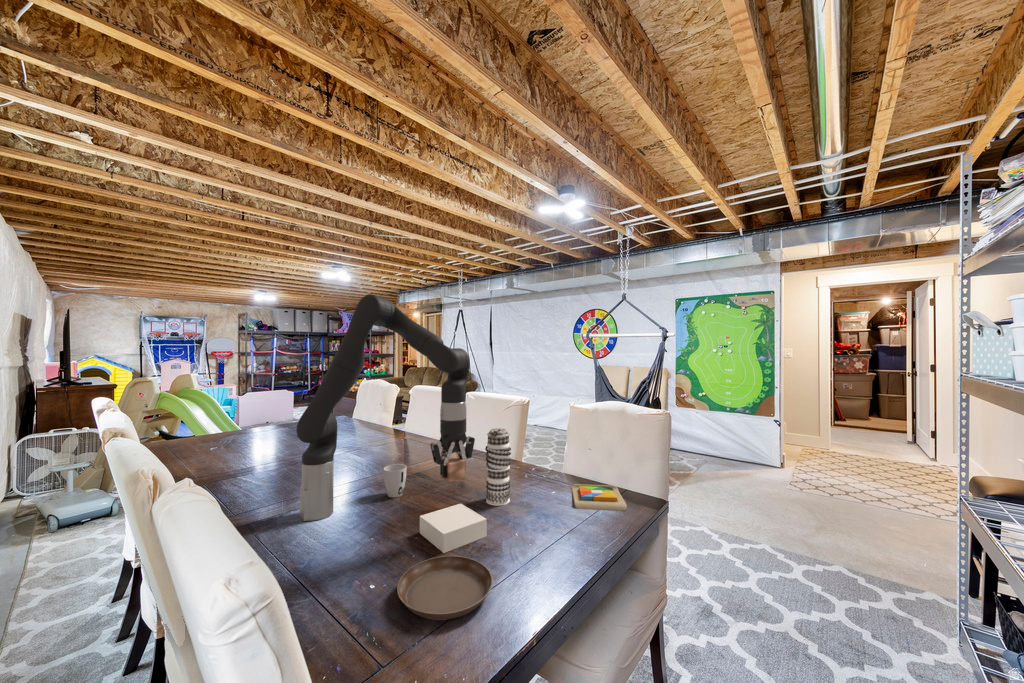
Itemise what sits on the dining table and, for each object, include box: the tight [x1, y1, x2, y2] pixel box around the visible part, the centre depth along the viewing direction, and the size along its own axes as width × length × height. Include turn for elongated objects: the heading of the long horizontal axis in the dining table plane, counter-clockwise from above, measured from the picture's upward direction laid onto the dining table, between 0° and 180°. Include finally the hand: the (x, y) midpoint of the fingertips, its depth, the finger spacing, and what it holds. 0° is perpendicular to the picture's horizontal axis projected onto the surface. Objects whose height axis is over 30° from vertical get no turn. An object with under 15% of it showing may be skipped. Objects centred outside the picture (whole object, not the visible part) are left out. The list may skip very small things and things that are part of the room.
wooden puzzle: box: [571, 483, 628, 512], centre depth 139 cm, size 17×19×4 cm
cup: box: [383, 463, 408, 498], centre depth 141 cm, size 8×8×10 cm
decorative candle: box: [485, 428, 512, 507], centre depth 136 cm, size 9×9×25 cm
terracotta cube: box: [440, 456, 466, 483], centre depth 112 cm, size 5×5×5 cm
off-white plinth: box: [419, 502, 488, 554], centre depth 112 cm, size 14×14×5 cm
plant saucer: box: [396, 555, 494, 621], centre depth 85 cm, size 21×21×3 cm
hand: (453, 475), depth 112 cm, fingers closed on terracotta cube, 5 cm apart
